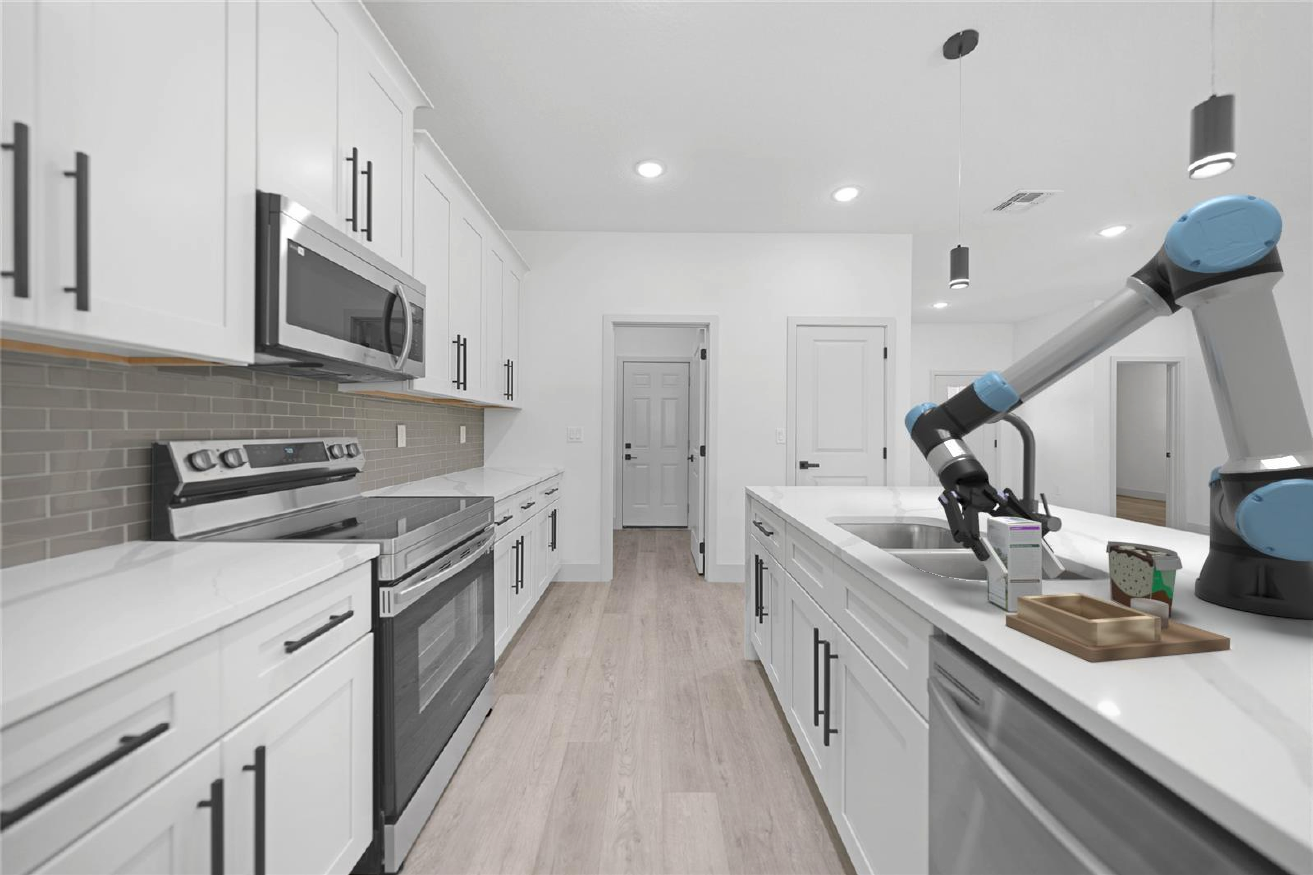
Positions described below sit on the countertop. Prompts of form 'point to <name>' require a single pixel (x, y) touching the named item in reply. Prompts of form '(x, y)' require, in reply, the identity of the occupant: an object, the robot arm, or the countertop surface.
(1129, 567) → the food container
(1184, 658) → the countertop surface
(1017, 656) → the countertop surface
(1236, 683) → the countertop surface
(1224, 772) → the countertop surface
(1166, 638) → the wooden tray on board
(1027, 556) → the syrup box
